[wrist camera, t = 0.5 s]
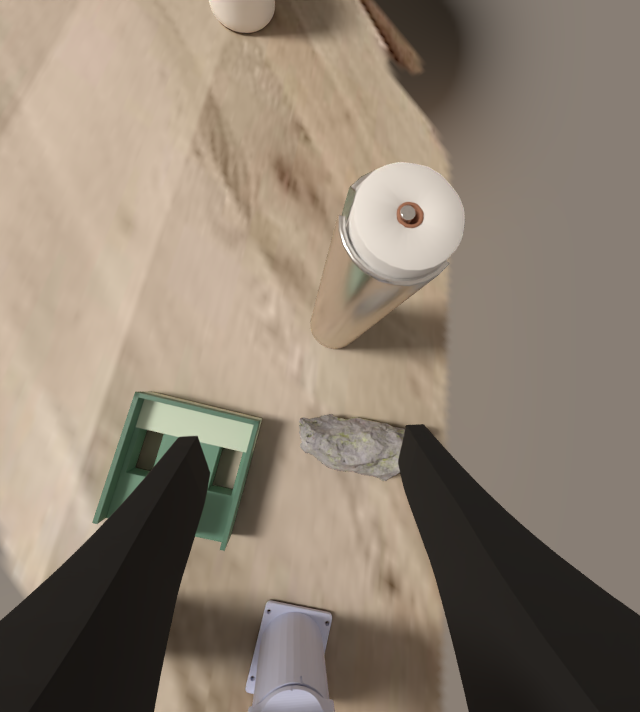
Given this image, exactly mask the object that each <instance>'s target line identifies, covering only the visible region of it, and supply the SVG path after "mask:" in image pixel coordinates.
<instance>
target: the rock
mask: <svg viewBox="0 0 640 712" xmlns="http://www.w3.org/2000/svg"><path fill="white" fill-rule="evenodd" d="M299 422H300V425H299V427H300V432H299V433H300V438H301V441H302V443H301V445H300V447H301V448H302V450H303V451H304V452H305V453H309V454H311V455H313V456H315V457H316V458H317V459H318V460H319V461H321V463H322V464H324V465H325V466H326V467H328V468H331V469H334V470H338V471H350V472H355V473H359V474H363V475H369V476H374V477H377V478H379V479H380V480H382V481H387V480H388V479H389V478H391V477H392V476H395V475H396V474H398V473H400V470H399V465H398V459H399V455H400V450H401V446H402V442H403V437H404V433H405V429H403V428H398V427H392V426H390V425H389V424H387V423H380V422H375V421H371V420H368V419H362V418H359V417H357V418H355V417H352V418H350V419H348V420H346V419H343V418H340V419H339V418H338V417H335V416H334V415H333V414H329V415H324V416H320V417H316V418H312V419H306V418H301V419H300V421H299Z"/></svg>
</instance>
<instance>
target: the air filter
mask: <svg viewBox="0 0 640 712" xmlns="http://www.w3.org/2000/svg"><path fill="white" fill-rule="evenodd" d="M464 226H465V219H464V208H463V205H462V203H461V200H460V198H459V196H458V194H457V193H456V191H455V190H454V189H453V187H452V186H451V185H450V183H449V182H448V181H447V180H446V179H445V178H444V177H443V176H442V175H441V174H440V173H438V172H436V171H435V170H433V169H431V168H429V167H427V166H423V165H418V164H414V163H405V162H397V163H393V164H388V165H385V166H383V167H381V168H378V169H376V170H373V171H371V172H369V173H367V174H365V175H363V176H361V177H360V178H359V179H358V180H357V181H356V182H355V183H354V184H352V185H351V186H350V187H349V191H348V194H347V198H346V201H345V205H344V208H343V212H342V215H337V219H336V223H335V227H334V231H333V235H332V239H331V243H330V247H329V250H328V254H327V258H326V262H325V266H324V270H323V274H322V278H321V282H320V285H319V289H318V293H317V297H316V301H315V305H314V309H313V313H312V317H311V320H310V328H311V332H312V334H313V336H314V338H315V339H316V340H317V341H318V342H319V343H320V344H321V345H323V346H325V347H327V348H331V349H339V348H343V347H345V346H347V345H349V344H350V343H351V342H353V341H354V340H355V339H357V338H358V337H359V336H361V335H362V334H363V333H364V332H366V331H367V330H368V329H370V328H371V327H372V326H373V325H375V324H376V323H377V322H379V321H380V320H381V319H382V318H384V317H385V316H386V315H388V314H389V313H390V312H391V311H393V310H394V309H395V308H397V307H398V306H399V305H400V304H402V303H403V302H404V301H406V300H407V299H408V298H409V297H411V296H412V295H413V294H415V293H416V292H417V291H418V290H420V289H421V288H422V287H424V286H425V285H426V284H428V283H429V282H430V281H431V280H433V279H434V278H435V277H437V276H438V275H439V274H440V273H441V272H442V271H443V270H444V269H445V268H446V267H447V266H448V265H449V262H447V261H446V260H447V259H448V258H449V257H450V256H451V255H452V254H453V253H454V252H455V251H456V249H457V247H458V245H459V244H460V242H461V239H462V237H463V231H464Z"/></svg>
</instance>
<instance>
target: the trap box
mask: <svg viewBox="0 0 640 712" xmlns="http://www.w3.org/2000/svg"><path fill="white" fill-rule="evenodd" d="M261 422H262V418H259V417H255V416H250V415H246V414H242V413H238V412H234V411H230V410H225V409H221V408H217V407H213V406H209V405H205V404H201V403H196V402H192V401H188V400H184V399H180V398H176V397H171V396H167V395H163V394H159V393H155V392H151V391H150V392H135V394H134V397H133V400H132V403H131V406H130V409H129V412H128V415H127V418H126V422H125V425H124V428H123V431H122V434H121V437H120V440H119V443H118V446H117V449H116V452H115V455H114V458H113V461H112V464H111V467H110V470H109V473H108V476H107V479H106V482H105V486H104V489H103V492H102V495H101V498H100V501H99V504H98V507H97V510H96V513H95V516H94V519H93V522H92V523H95V524H98V523H99V522H101V521H102V520H103V519H105V518H109V517H110V516H111V515H112V514H113V513H114V512H115V511H116V510H117V509H118V507H119V506H120V505H121V504H122V503H123V502H124V501H125V500H126V499H127V497H128V496H129V495H130V494H131V493H132V492H133V491H134V489H135V488H136V487H137V486H138V485H139V484H140V483H141V481H142V480H143V479H144V478H145V477H146V476H147V474H148V473H149V472H150V471H148V470H144V469H139V468H135V467H136V464H137V461H138V457H139V454H140V451H141V448H142V445H143V442H144V438H145V435H146V432H147V430H150V431H155V432H159V433H163V434H164V435H163V438H162V442H161V445H160V448H159V451H158V454H157V458H156V461H155V464H154V466H155V465H156V464H157V462H158V461H159V460H160V459H161V458H162V456H163V455H164V454H165V453H166V452H167V450H168V449H169V448H170V447H171V446H172V444H173V443H174V442H175V441H176V440H177V438H179V437H183V436H198V438H199V441H200V444H201V447H202V450H203V453H204V456H205V459H206V462H207V464H208V467H209V470H210V478H209V484H208V490H207V495H206V500H205V504H204V508H203V511H202V515H201V518H200V521H199V524H198V528H197V531H196V534H195V537H200V538H205V539H210V540H214V541H219V542H222V544H221V547H220V550H223V551H225V548H226V546H227V543H228V541H229V539H230V536H231V534H232V530H233V526H234V523H235V519H236V515H237V511H238V508H239V504H240V500H241V496H242V493H243V489H244V485H245V481H246V478H247V474H248V470H249V467H250V463H251V459H252V455H253V452H254V448H255V444H256V440H257V437H258V433H259V429H260V425H261ZM222 448H228V449H232V450H236V451H241V452H243V454H242V458H241V462H240V465H239V469H238V473H237V476H236V480H235V484H234V487H233V489H229V488H224V487H220V486H215V485H212V484H213V480H214V477H215V473H216V470H217V466H218V463H219V459H220V456H221V452H222Z"/></svg>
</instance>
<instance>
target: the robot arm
mask: <svg viewBox="0 0 640 712" xmlns="http://www.w3.org/2000/svg"><path fill="white" fill-rule="evenodd" d="M398 465H399V470H400V474H401V478H402V482H403V486H404V490H405V493H406V496H407V499H408V502H409V505H410V507H411V510H412V513H413V516H414V518H415V521H416V524H417V527H418V529H419V532H420V535H421V538H422V540H423V543H424V546H425V549H426V551H427V554H428V557H429V559H430V563H431V566H432V569H433V572H434V575H435V578H436V582H437V586H438V589H439V593H440V597H441V600H442V604H443V608H444V611H445V615H446V619H447V623H448V627H449V631H450V635H451V638H452V642H453V646H454V650H455V654H456V659H457V663H458V667H459V671H460V675H461V680H462V684H463V688H464V692H465V697H466V701H467V706H468V710H469V712H640V616H639V615H638V614H637V613H635V612H634V611H633V610H631V609H630V608H628V607H627V606H626V605H624V604H623V603H621V602H620V601H618V600H617V599H616V598H614V597H613V596H611V595H610V594H609V593H607V592H606V591H605V590H603V589H602V588H601V587H599V586H598V585H597V584H595V583H594V582H593V581H591V580H590V579H589V578H587V577H586V576H585V575H584V574H582V573H581V572H580V571H578V570H577V569H576V568H574V567H573V566H572V565H570V564H569V563H568V562H567V561H565V560H564V559H563V558H561V557H560V556H559V555H557V554H556V553H555V552H554V551H553V550H551V549H550V548H549V547H548V546H546V545H545V544H544V543H543V542H542V541H540V540H539V539H538V538H537V537H535V536H534V535H533V534H532V533H531V532H530V531H529V530H527V529H526V528H525V527H524V526H523V525H522V524H520V523H519V522H518V521H517V520H516V519H515V518H514V517H513V516H512V515H510V514H509V513H508V512H507V511H506V510H505V509H504V508H503V507H502V506H501V505H500V504H499V503H498V502H497V501H495V500H494V499H493V498H492V497H491V496H490V495H489V494H488V493H487V492H486V491H485V490H484V489H483V488H482V487H481V486H480V485H479V484H478V483H477V482H476V481H475V480H474V479H473V478H472V477H471V476H470V475H469V474H468V473H467V472H466V470H465V469H464V468H462V466H461V465H460V464H459V463H458V462H457V461H456V460H455V459H454V458H453V457H452V456H451V454H450V453H449V452H448V451H447V450H446V449H445V448H444V447H443V446H442V444H441V443H440V442H439V441H438V440H437V439H436V438H435V437H434V436H433V434H432V433H431V432H430V431H429V430H428V429H427V428H426V427H425V426H424V425H423V424H421V425H406V428H405V433H404V437H403V442H402V446H401V450H400V455H399V459H398ZM209 478H210V470H209V467H208V464H207V462H206V459H205V456H204V453H203V450H202V447H201V444H200V441H199V438H198V436H183V437H179V438H177V440H176V441H175V442H174V443H173V444H172V446H171V447H170V448H169V449H168V450H167V452H166V453H165V454H164V455H163V456H162V458H161V459H160V460H159V461H158V462H157V464H156V465H155V466H154V467H153V468H152V470H151V471H150V472H149V473H148V474H147V476H146V477H145V478H144V479H143V480H142V481H141V483H140V484H139V485H138V486H137V487H136V488H135V489H134V491H133V492H132V493H131V494H130V495H129V496H128V497H127V499H126V500H125V501H124V502H123V503H122V504H121V505H120V506H119V507H118V509H117V510H116V511H115V512H114V513H113V514H112V515H111V516H110V517H109V518H108V519H107V520H106V521H105V522H104V523H103V525H102V526H101V527H100V528H99V529H98V530H97V531H96V532H95V533H94V534H93V535H92V536H91V537H90V538H89V539H88V540H87V541H86V542H85V543H84V544H83V545H82V546H81V547H80V548H79V549H78V550H77V551H76V552H75V553H74V554H73V555H72V556H71V557H70V558H69V559H68V560H67V561H66V562H65V563H64V564H63V565H62V566H61V567H60V568H58V569H57V570H56V571H55V572H54V573H53V574H52V575H51V576H50V577H49V578H48V579H47V580H45V581H44V582H43V583H42V584H41V585H40V586H39V587H38V588H37V589H36V590H34V591H33V592H32V593H31V594H30V595H29V596H28V597H27V598H26V599H25V600H23V601H22V602H21V603H20V604H19V605H18V606H17V607H15V608H14V609H13V610H12V611H11V612H10V613H9V614H8V615H6V616H5V617H4V618H3V619H2V620H1V621H0V712H154V709H155V703H156V698H157V692H158V687H159V681H160V676H161V671H162V666H163V661H164V656H165V651H166V646H167V641H168V636H169V631H170V627H171V622H172V617H173V613H174V608H175V604H176V599H177V595H178V591H179V587H180V584H181V580H182V576H183V573H184V570H185V567H186V563H187V560H188V557H189V554H190V551H191V547H192V544H193V541H194V538H195V534H196V531H197V528H198V524H199V521H200V518H201V515H202V511H203V508H204V504H205V500H206V495H207V490H208V484H209ZM268 609H270V610H271V611H270V612H268V611H267V610H268ZM326 621H329V622H328V623H325V622H326ZM331 622H332V614H331V613H330V612H327V611H322V610H317V609H312V608H307V607H302V606H297V605H292V604H287V603H282V602H277V601H272V600H269V601H268V602H267V603H266V606H265V610H264V614H263V618H262V622H261V626H260V630H259V634H258V638H257V642H256V646H255V651H254V655H253V659H252V663H251V667H250V671H249V675H248V679H247V683H246V691H247V692H248V693H252V694H254V696H253V704H252V706H250V707H249V710H248V712H335V709H334V702H333V700H331V699H329V691H328V682H327V674H326V665H325V657H324V654H325V650H326V645H327V641H328V636H329V631H330V627H331ZM251 676H254V678H252V677H251Z"/></svg>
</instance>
